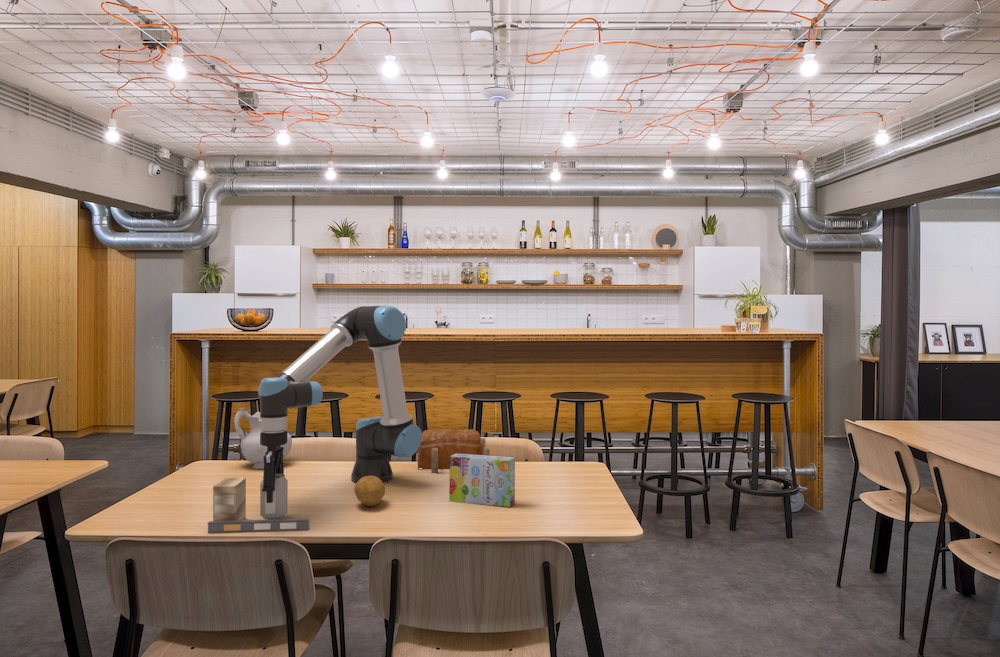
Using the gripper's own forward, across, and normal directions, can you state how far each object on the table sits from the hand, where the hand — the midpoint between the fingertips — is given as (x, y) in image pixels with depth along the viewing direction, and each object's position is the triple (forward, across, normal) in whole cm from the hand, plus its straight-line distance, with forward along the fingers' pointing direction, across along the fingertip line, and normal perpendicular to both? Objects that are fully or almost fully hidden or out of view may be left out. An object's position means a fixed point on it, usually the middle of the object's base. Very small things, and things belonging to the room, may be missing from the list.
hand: (273, 509), depth 186 cm
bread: (+4, -66, +53) cm, 85 cm away
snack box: (+4, -14, +62) cm, 64 cm away
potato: (+4, -14, +26) cm, 30 cm away
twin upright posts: (+4, -64, +57) cm, 86 cm away
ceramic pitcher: (+4, -72, -21) cm, 75 cm away
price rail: (+4, +8, -2) cm, 9 cm away
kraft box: (+4, +1, -12) cm, 13 cm away
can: (+2, 0, 0) cm, 2 cm away
